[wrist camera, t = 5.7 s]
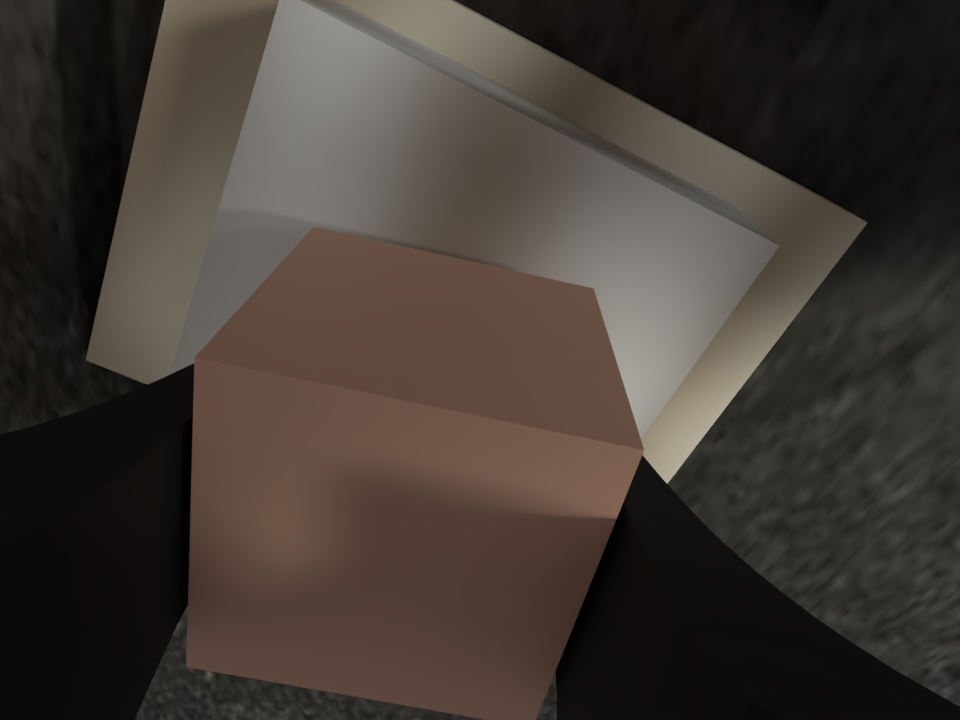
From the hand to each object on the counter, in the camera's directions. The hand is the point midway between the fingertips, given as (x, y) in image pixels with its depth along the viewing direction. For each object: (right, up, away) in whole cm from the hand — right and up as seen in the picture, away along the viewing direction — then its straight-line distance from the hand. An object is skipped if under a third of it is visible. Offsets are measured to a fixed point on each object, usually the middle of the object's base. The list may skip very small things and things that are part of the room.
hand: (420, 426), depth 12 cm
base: (0, +3, +7) cm, 7 cm away
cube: (0, +1, +1) cm, 2 cm away
